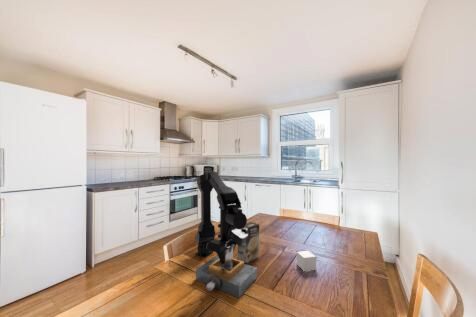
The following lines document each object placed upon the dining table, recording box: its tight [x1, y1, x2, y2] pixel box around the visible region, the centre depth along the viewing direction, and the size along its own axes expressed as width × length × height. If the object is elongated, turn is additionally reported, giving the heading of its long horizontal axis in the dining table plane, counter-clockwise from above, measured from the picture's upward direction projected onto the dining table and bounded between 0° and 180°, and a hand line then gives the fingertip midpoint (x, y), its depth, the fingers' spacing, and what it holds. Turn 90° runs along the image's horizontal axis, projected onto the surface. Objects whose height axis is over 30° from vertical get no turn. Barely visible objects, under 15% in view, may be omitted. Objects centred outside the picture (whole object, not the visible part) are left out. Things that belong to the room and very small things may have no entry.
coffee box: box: [236, 221, 260, 264], centre depth 97 cm, size 9×6×16 cm
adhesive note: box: [296, 250, 317, 272], centre depth 88 cm, size 6×6×6 cm
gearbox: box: [195, 255, 258, 298], centre depth 77 cm, size 18×20×6 cm
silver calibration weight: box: [221, 244, 234, 268], centre depth 79 cm, size 5×6×9 cm
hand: (226, 260), depth 79 cm, fingers closed on silver calibration weight, 5 cm apart
